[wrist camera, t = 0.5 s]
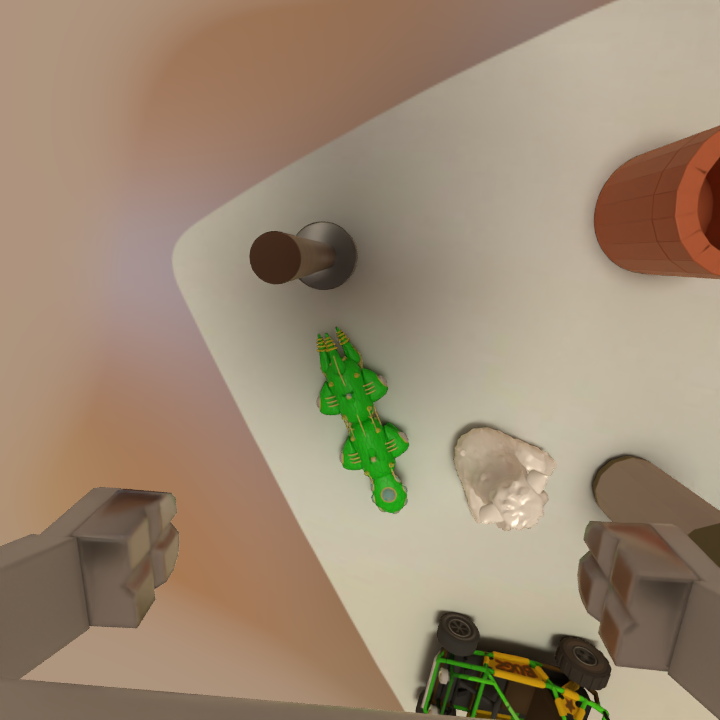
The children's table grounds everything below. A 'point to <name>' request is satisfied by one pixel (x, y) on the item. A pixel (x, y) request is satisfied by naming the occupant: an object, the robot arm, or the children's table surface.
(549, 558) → the children's table surface
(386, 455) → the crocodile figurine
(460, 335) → the children's table surface
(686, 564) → the robot arm
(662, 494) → the bottle
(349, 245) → the rod on round base
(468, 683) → the motor vehicle
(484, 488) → the sitting furry creature
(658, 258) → the terracotta flower pot
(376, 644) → the children's table surface
